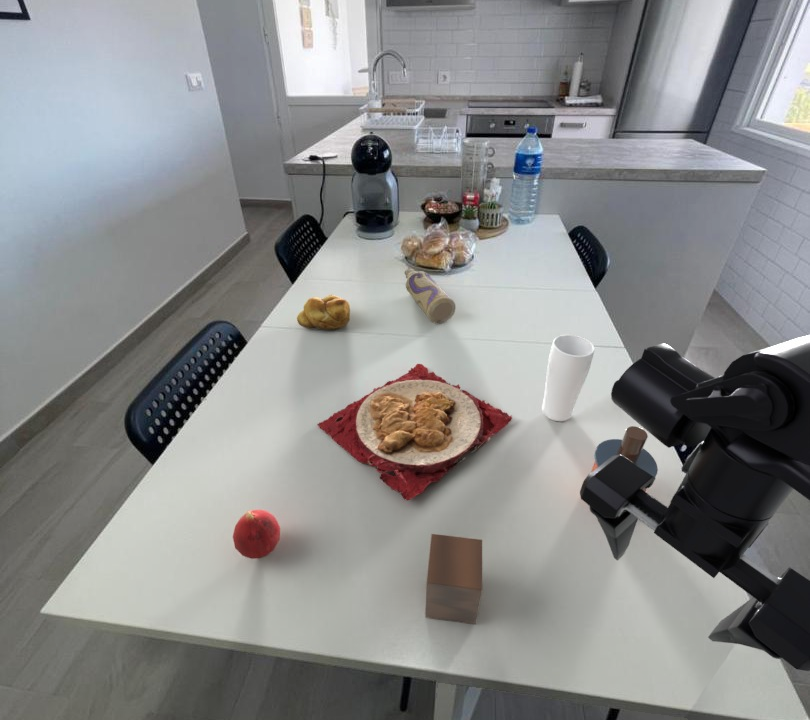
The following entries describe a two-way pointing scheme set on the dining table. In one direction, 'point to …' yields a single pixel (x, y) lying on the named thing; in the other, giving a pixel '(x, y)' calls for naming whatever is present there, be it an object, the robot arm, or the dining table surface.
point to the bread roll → (325, 313)
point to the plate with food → (414, 429)
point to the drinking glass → (566, 375)
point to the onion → (256, 534)
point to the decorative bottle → (429, 296)
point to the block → (454, 579)
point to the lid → (628, 450)
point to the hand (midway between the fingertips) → (662, 593)
